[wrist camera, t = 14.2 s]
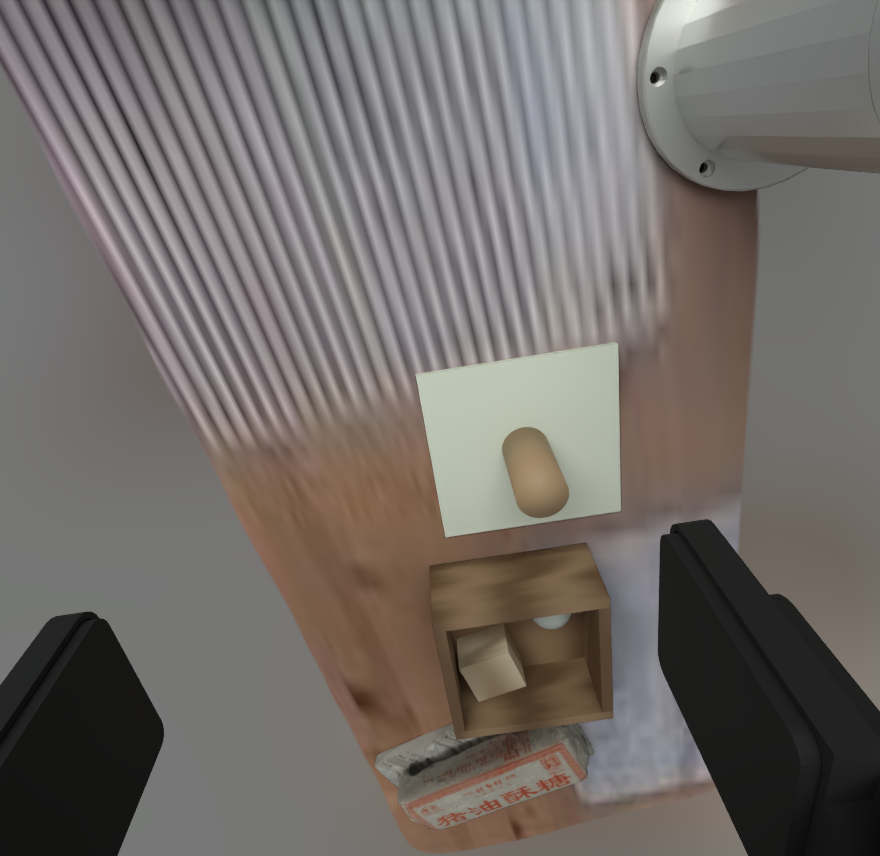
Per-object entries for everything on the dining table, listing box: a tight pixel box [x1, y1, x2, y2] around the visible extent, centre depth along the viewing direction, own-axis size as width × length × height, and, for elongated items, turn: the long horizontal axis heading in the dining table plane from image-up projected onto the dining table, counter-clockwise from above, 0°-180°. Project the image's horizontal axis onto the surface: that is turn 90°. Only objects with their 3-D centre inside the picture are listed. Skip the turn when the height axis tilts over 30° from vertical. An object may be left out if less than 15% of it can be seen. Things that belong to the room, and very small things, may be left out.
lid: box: [416, 342, 621, 537], centre depth 38 cm, size 13×13×7 cm
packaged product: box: [375, 723, 594, 830], centre depth 54 cm, size 18×5×10 cm
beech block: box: [457, 623, 526, 702], centre depth 47 cm, size 4×4×3 cm
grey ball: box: [533, 613, 571, 629], centre depth 44 cm, size 3×3×3 cm
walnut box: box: [430, 543, 613, 740], centre depth 45 cm, size 12×12×6 cm
